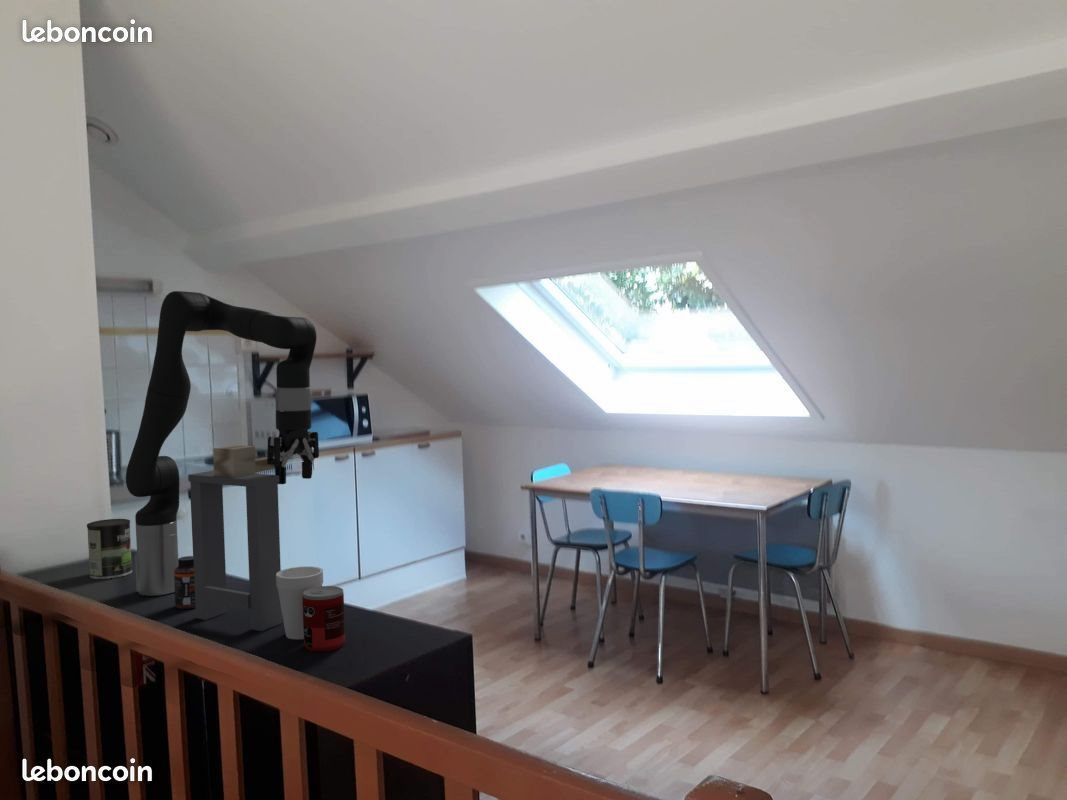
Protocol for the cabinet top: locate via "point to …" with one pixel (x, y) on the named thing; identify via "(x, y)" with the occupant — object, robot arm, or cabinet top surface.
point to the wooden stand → (260, 548)
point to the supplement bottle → (184, 583)
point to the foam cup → (296, 595)
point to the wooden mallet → (238, 461)
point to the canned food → (323, 618)
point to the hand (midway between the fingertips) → (294, 481)
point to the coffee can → (109, 548)
